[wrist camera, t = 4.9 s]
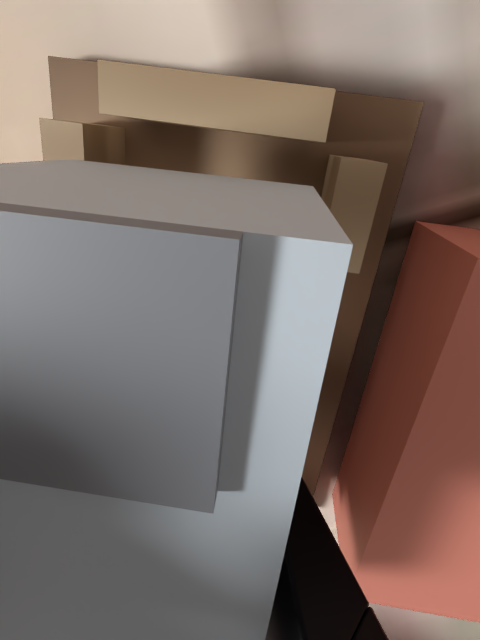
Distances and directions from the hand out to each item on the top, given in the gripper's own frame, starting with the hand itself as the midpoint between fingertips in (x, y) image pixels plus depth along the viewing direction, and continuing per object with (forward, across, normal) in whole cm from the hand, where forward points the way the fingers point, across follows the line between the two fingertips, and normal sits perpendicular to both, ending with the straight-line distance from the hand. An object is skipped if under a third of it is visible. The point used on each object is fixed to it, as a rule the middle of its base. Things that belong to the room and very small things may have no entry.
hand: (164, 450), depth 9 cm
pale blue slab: (+2, 0, 0) cm, 2 cm away
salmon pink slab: (+6, -8, +1) cm, 11 cm away
